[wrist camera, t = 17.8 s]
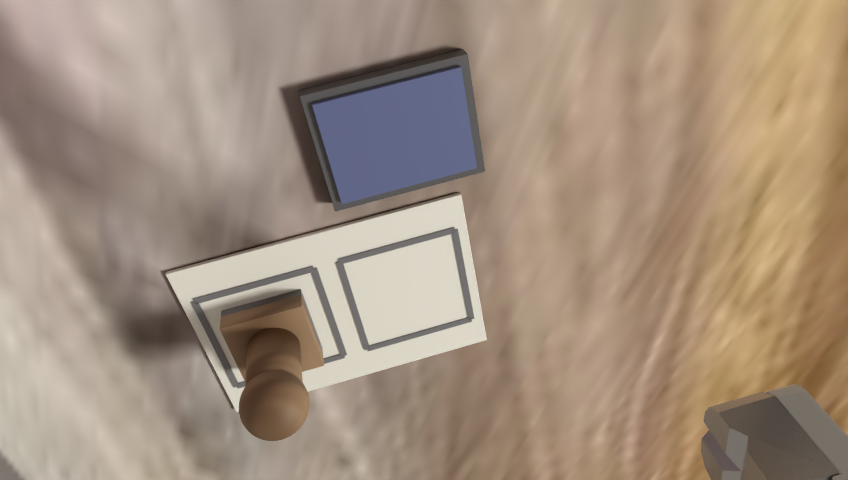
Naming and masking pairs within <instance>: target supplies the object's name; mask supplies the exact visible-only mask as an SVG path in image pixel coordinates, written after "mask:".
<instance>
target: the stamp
mask: <svg viewBox="0 0 848 480" xmlns="http://www.w3.org/2000/svg"><path fill="white" fill-rule="evenodd" d="M220 331H221V333H222V335H223V337H224V339H225V342H226V344H227V346H228V348H229V350H230V352H231V354H232V356H233V358H234V360H235V362H236V364H237V366H238V369H239V371H240V373H241V375H242V377H243V379H244V381H245V388H244V390H243V391H242V394H241V397H240V401H239V414H240V418H241V421H242V423H243V425H244V426H245V428H246V429H247V430H248V431H249V432H250V433H251V434H252V435H254V436H255V437H257V438H260V439H262V440H267V441H277V440H282V439H285V438H287V437H289V436H291V435H292V434H294V433H295V432H296V431H297V430H298V429H299V428H300V427H301V426H302V425H303V423H304V421H305V420H306V417H307V415H308V411H309V395H308V392H307V389H306V387H305V386H304V384H303V380H302V372H304V371H307V370H311V369H314V368H318V367H321V366H324V359H323V350H322V345H321V343H320V340H319V337H318V334H317V332H316V329H315V326H314V324H313V321H312V318H311V316H310V313H309V310H308V307H307V305H306V302H305V299H304V297H303V294H302V291H301V289H299V290H295V291H292V292H288V293H284V294H281V295H277V296H273V297H270V298H266V299H262V300H259V301H255V302H251V303H248V304H244V305H241V306H237V307H233V308H230V309H226V310H222V311H221V320H220Z"/></svg>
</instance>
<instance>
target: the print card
mask: <svg viewBox="0 0 848 480" xmlns="http://www.w3.org/2000/svg"><path fill="white" fill-rule="evenodd" d="M166 276H167V278H168V280H169V282H170V284H171V286H172V288H173V290H174V291H175V293H176V295H177V297H178V299H179V301H180V303H181V305H182V307H183V309H184V311H185V313H186V315H187V317H188V319H189V321H190V323H191V324H192V326H193V328H194V330H195V332H196V334H197V336H198V338H199V340H200V342H201V344H202V346H203V348H204V350H205V352H206V354H207V356H208V358H209V359H210V361H211V363H212V365H213V367H214V369H215V371H216V373H217V375H218V377H219V379H220V381H221V383H222V385H223V387H224V389H225V391H226V392H227V394H228V396H229V398H230V400H231V402H232V404H233V406H234V408H235V410H236V412H239V401H240V397H241V394H242V391H243V390H244V388H245V381H244V379H243V377H242V375H241V373H240V371H239V369H238V366H237V364H236V362H235V360H234V358H233V356H232V354H231V352H230V350H229V348H228V346H227V344H226V342H225V339H224V337H223V335H222V333H221V331H220V320H221V311H222V310H226V309H230V308H233V307H237V306H241V305H244V304H248V303H251V302H255V301H259V300H262V299H266V298H270V297H273V296H277V295H281V294H284V293H288V292H292V291H295V290H299V289H301V291H302V294H303V297H304V299H305V302H306V305H307V307H308V310H309V313H310V316H311V318H312V321H313V324H314V326H315V329H316V332H317V334H318V337H319V340H320V343H321V345H322V350H323V359H324V366H321V367H318V368H314V369H311V370H307V371H304V372H302V380H303V384H304V386H305V387H306V389H307V392H308V391H312V390H315V389H318V388H322V387H325V386H329V385H332V384H336V383H339V382H343V381H346V380H350V379H353V378H356V377H360V376H363V375H367V374H370V373H374V372H377V371H381V370H384V369H388V368H391V367H395V366H398V365H401V364H405V363H408V362H412V361H415V360H419V359H422V358H426V357H429V356H433V355H436V354H440V353H443V352H446V351H450V350H453V349H457V348H460V347H464V346H467V345H471V344H474V343H478V342H481V341H484V340H487V339H486V333H485V327H484V321H483V316H482V310H481V304H480V299H479V293H478V287H477V282H476V276H475V270H474V265H473V259H472V253H471V248H470V242H469V236H468V231H467V225H466V219H465V213H464V208H463V202H462V196H461V193H460V192H459V193H456V194H452V195H448V196H445V197H441V198H437V199H434V200H430V201H426V202H422V203H419V204H415V205H411V206H408V207H404V208H400V209H396V210H393V211H389V212H385V213H382V214H378V215H374V216H371V217H367V218H363V219H359V220H356V221H352V222H348V223H345V224H341V225H337V226H334V227H330V228H326V229H322V230H319V231H315V232H311V233H308V234H304V235H300V236H297V237H293V238H289V239H285V240H282V241H278V242H274V243H271V244H267V245H263V246H260V247H256V248H252V249H248V250H245V251H241V252H237V253H234V254H230V255H226V256H223V257H219V258H215V259H211V260H208V261H204V262H200V263H197V264H193V265H189V266H186V267H182V268H178V269H174V270H171V271H167V272H166Z"/></svg>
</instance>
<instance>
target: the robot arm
mask: <svg viewBox="0 0 848 480" xmlns="http://www.w3.org/2000/svg"><path fill="white" fill-rule="evenodd" d="M704 423H705V424H706V426H707V427H708V429H709V431H708V432H707V433H706V434H705V435H704V436H703V438H702V443H701V453H702V457H703V461H704V465H705V468H706V470H707V472H708V474H709V476H710V478H711V480H848V436H847V435H846V434H845V432H844V431H843V430H842V429H841V428H840V427H839V426H838V425H837V424H836V423H835V422H834V420H833V419H832V418H831V417H830V416H829V415H828V414H827V413H826V412H825V411H824V410H823V408H822V407H821V406H820V405H819V404H818V403H817V402H816V401H815V400H814V399H813V398H812V396H811V395H810V394H809V393H808V392H807V391H806V390H805V389H804V388H802V387H800V386H799V385H788V386H785V387H781V388H778V389H774V390H771V391H767V392H760V393H757V394H753V395H750V396H747V397H743V398H740V399H736V400H733V401H729V402H726V403H722V404H719V405H715V406H712V407H709V408H708V409H707V410H706V411H705V416H704Z"/></svg>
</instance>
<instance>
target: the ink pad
mask: <svg viewBox="0 0 848 480" xmlns="http://www.w3.org/2000/svg"><path fill="white" fill-rule="evenodd" d="M299 95H300V99H301V103H302V106H303V109H304V112H305V116H306V119H307V122H308V125H309V129H310V132H311V135H312V138H313V141H314V145H315V148H316V151H317V154H318V158H319V161H320V164H321V167H322V171H323V174H324V177H325V180H326V184H327V187H328V190H329V193H330V197H331V200H332V203H333V206H334V210H335V211H339V210H343V209H346V208H350V207H354V206H358V205H361V204H365V203H369V202H373V201H376V200H380V199H384V198H387V197H391V196H395V195H399V194H402V193H406V192H410V191H414V190H417V189H421V188H425V187H428V186H432V185H436V184H440V183H443V182H447V181H451V180H455V179H458V178H462V177H466V176H469V175H473V174H477V173H481V172H484V171H485V168H484V162H483V155H482V148H481V141H480V135H479V128H478V121H477V114H476V108H475V101H474V94H473V88H472V81H471V74H470V67H469V61H468V54H467V53H466V52H465V51H464V50H463V49H461V50H457V51H453V52H449V53H445V54H441V55H437V56H433V57H429V58H425V59H421V60H418V61H414V62H410V63H406V64H402V65H398V66H394V67H390V68H386V69H382V70H378V71H374V72H370V73H366V74H362V75H358V76H354V77H350V78H346V79H342V80H338V81H334V82H330V83H327V84H323V85H319V86H315V87H311V88H307V89H303V90H299Z"/></svg>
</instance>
